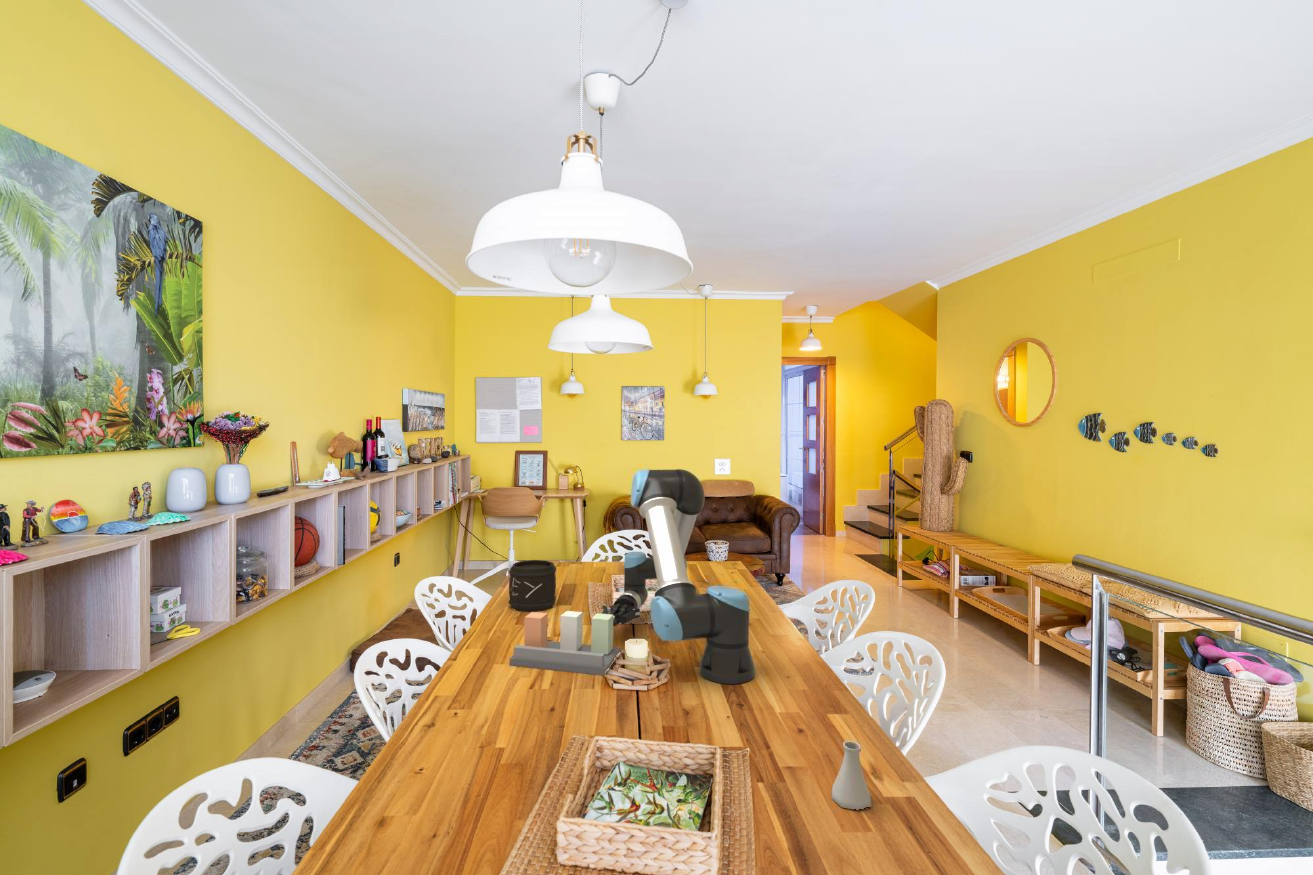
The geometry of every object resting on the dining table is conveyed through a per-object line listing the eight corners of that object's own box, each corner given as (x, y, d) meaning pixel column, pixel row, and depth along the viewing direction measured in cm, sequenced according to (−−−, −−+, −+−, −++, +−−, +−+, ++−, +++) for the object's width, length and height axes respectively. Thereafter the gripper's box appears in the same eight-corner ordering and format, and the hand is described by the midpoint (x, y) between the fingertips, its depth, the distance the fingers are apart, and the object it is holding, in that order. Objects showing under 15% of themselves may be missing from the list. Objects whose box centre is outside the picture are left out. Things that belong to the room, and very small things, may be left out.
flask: (863, 787, 114) (864, 734, 114) (878, 811, 107) (879, 755, 107) (825, 787, 114) (826, 734, 114) (838, 811, 107) (839, 755, 107)
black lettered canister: (498, 605, 229) (498, 563, 229) (539, 596, 241) (540, 557, 241) (522, 616, 216) (522, 572, 216) (565, 607, 228) (565, 565, 227)
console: (621, 654, 180) (621, 637, 180) (604, 675, 165) (605, 657, 165) (533, 645, 186) (533, 629, 186) (509, 665, 171) (509, 647, 171)
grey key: (582, 645, 181) (582, 612, 181) (576, 651, 176) (576, 617, 176) (566, 644, 182) (566, 610, 182) (560, 649, 177) (560, 615, 177)
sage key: (612, 648, 179) (613, 614, 179) (607, 654, 174) (608, 619, 174) (596, 646, 180) (597, 613, 180) (591, 652, 175) (591, 618, 175)
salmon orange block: (547, 647, 179) (547, 613, 179) (540, 653, 174) (540, 618, 174) (531, 645, 180) (531, 611, 180) (524, 651, 175) (524, 616, 175)
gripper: (645, 617, 203) (626, 641, 180) (608, 614, 206) (585, 637, 183) (646, 595, 203) (627, 616, 180) (608, 592, 206) (585, 612, 183)
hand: (606, 626), depth 181 cm, fingers closed
